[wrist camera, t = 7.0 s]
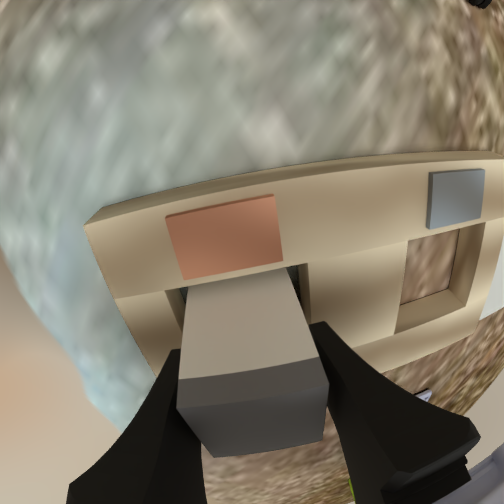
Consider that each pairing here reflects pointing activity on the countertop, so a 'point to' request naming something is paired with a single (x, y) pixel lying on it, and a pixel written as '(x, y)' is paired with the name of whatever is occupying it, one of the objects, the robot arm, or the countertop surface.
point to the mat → (496, 288)
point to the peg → (250, 367)
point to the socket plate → (313, 247)
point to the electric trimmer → (480, 3)
